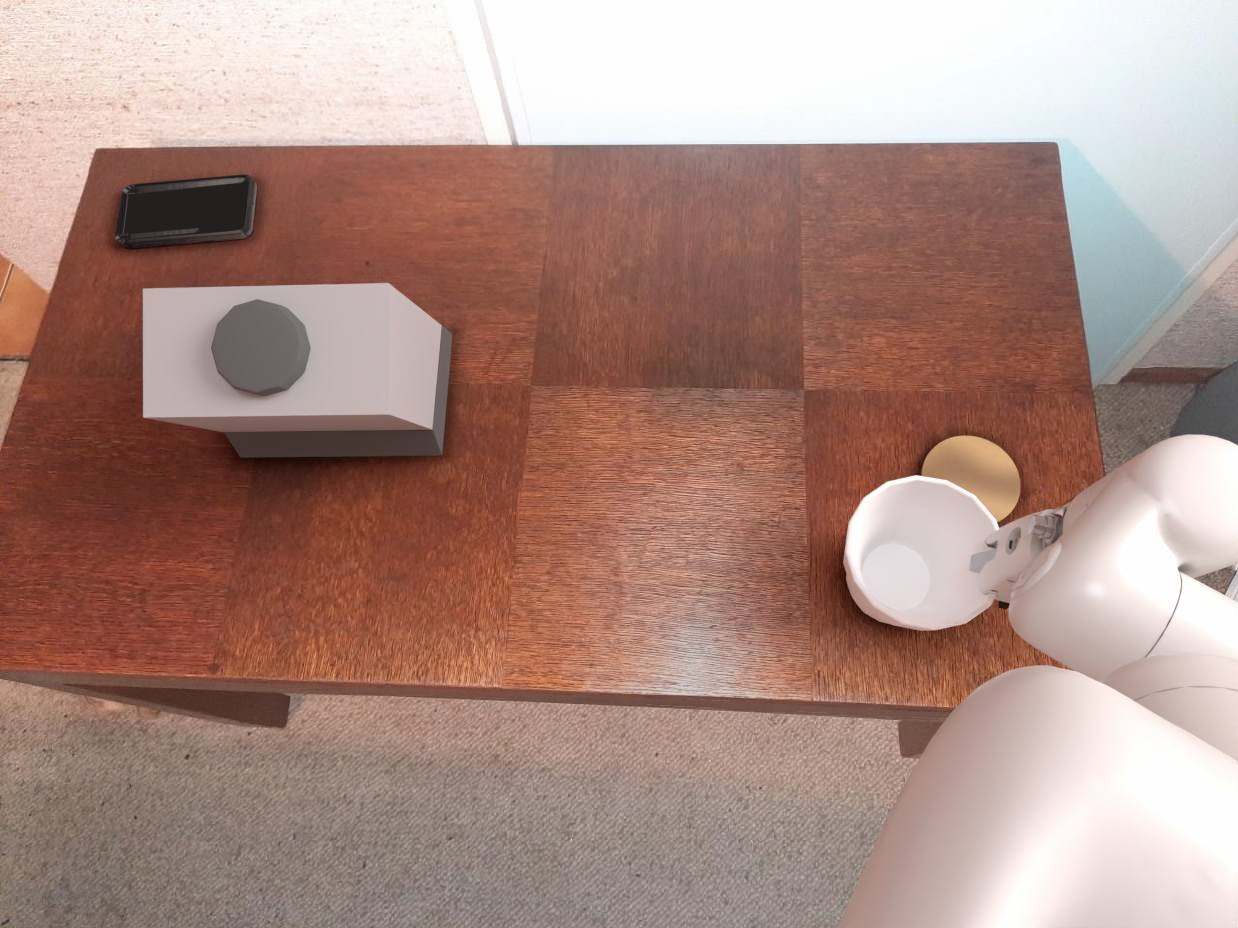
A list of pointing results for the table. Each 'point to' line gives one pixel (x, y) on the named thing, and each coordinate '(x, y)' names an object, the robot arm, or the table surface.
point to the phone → (186, 211)
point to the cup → (918, 553)
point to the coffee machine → (298, 368)
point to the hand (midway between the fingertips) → (1009, 592)
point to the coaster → (976, 471)
